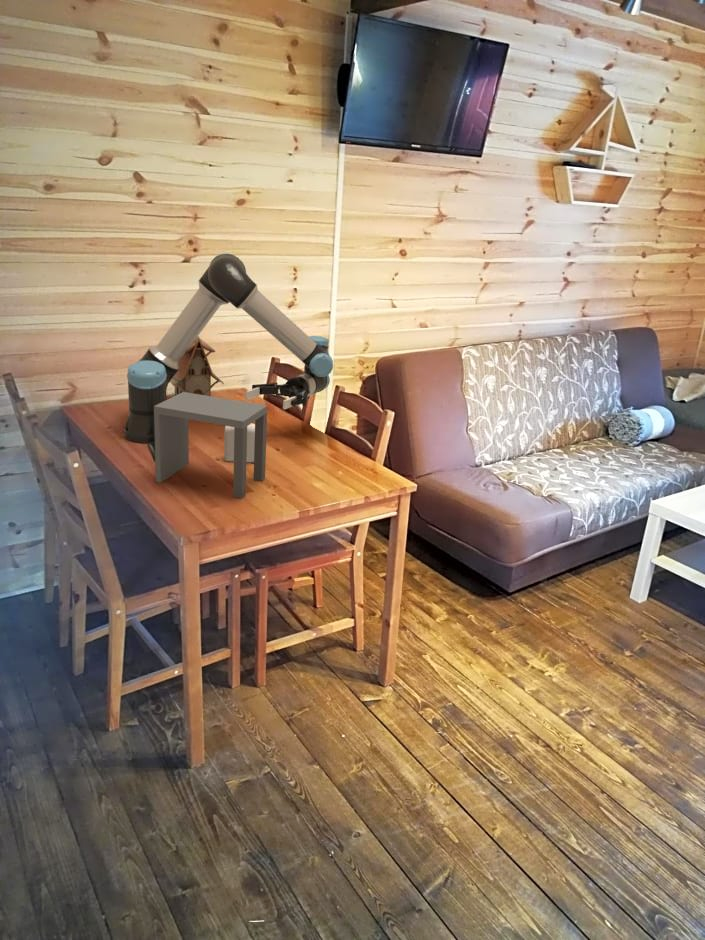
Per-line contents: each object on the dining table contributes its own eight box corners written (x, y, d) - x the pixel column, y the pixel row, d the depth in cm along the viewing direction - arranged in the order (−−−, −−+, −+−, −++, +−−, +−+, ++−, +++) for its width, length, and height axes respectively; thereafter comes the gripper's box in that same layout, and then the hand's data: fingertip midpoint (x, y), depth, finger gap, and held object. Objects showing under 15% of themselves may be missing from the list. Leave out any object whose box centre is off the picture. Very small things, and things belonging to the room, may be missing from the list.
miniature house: (175, 420, 251) (174, 334, 240) (161, 400, 270) (159, 320, 259) (226, 416, 258) (227, 333, 247) (209, 397, 278) (209, 320, 267)
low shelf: (155, 481, 201) (153, 406, 192) (184, 463, 215) (183, 391, 207) (241, 498, 195) (243, 421, 186) (264, 478, 209) (267, 405, 201)
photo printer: (223, 462, 218) (223, 423, 214) (225, 456, 222) (225, 418, 218) (257, 464, 219) (258, 425, 214) (258, 459, 223) (259, 420, 218)
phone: (155, 459, 214) (147, 442, 226) (155, 463, 214) (147, 446, 227) (181, 458, 217) (172, 441, 229) (181, 461, 217) (173, 444, 230)
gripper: (331, 406, 238) (299, 420, 220) (267, 390, 248) (231, 403, 230) (333, 384, 235) (301, 397, 217) (269, 368, 245) (232, 380, 227)
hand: (265, 400), depth 223 cm, fingers open, 13 cm apart
